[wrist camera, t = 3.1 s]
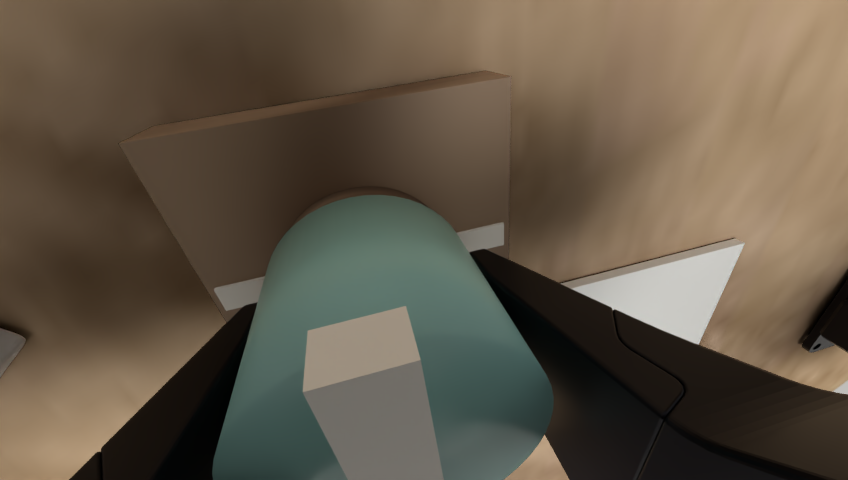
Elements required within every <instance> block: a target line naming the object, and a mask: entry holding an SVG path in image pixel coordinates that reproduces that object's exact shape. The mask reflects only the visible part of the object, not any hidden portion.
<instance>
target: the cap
mask: <svg viewBox="0 0 848 480" xmlns="http://www.w3.org/2000/svg"><path fill="white" fill-rule="evenodd" d="M553 403H554V397H553V391H552V386H551V384H550V382H549V379H548V377H547V375H546V373H545V372H544V370H543V369H542V367H541V365H540V364H539V362H538V361H537V359H536V358H535V356H534V354H533V353H532V351H531V350H530V348H529V347H528V345H527V343H526V342H525V340H524V339H523V337H522V335H521V334H520V332H519V331H518V329H517V328H516V326H515V324H514V323H513V321H512V320H511V318H510V316H509V315H508V313H507V312H506V310H505V309H504V307H503V305H502V304H501V302H500V301H499V299H498V298H497V296H496V294H495V293H494V291H493V290H492V288H491V286H490V285H489V283H488V282H487V280H486V279H485V277H484V275H483V274H482V272H481V271H480V269H479V267H478V266H477V264H476V263H475V261H474V260H473V258H472V256H471V255H470V253H469V252H468V250H467V249H466V247H465V245H464V244H463V242H462V241H461V239H460V237H459V236H458V234H457V233H456V232H455V230H454V229H453V228H452V226H451V225H450V224H449V223H448V222H447V221H446V220H445V219H444V218H443V217H442V216H440V215H439V214H437V213H436V212H435V211H433V210H432V209H430V208H428V207H426V206H424V205H422V204H420V203H417V202H414V201H412V200H409V199H405V198H400V197H396V196H387V195H363V196H356V197H349V198H346V199H342V200H338V201H335V202H332V203H330V204H327V205H325V206H322V207H320V208H318V209H317V210H315V211H313V212H311V213H309V214H308V215H306V216H305V217H304V218H302V219H301V220H300V221H298V222H297V223H296V224H295V225H294V226H293V227H292V228H291V229H290V230H288V231H287V232H286V234H285V235H284V236H283V237H282V239H281V240H280V241H279V243H278V244H277V246H276V248H275V250H274V252H273V254H272V255H271V258H270V261H269V264H268V267H267V271H266V274H265V278H264V281H263V285H262V289H261V292H260V296H259V299H258V303H257V306H256V310H255V313H254V317H253V321H252V324H251V328H250V331H249V335H248V338H247V342H246V345H245V349H244V353H243V356H242V360H241V363H240V367H239V370H238V374H237V377H236V381H235V385H234V388H233V392H232V395H231V399H230V402H229V406H228V409H227V413H226V417H225V420H224V424H223V427H222V431H221V434H220V438H219V441H218V445H217V449H216V452H215V456H214V460H213V470H212V476H213V480H503V479H505V478H506V477H507V476H509V475H510V474H511V473H512V472H513V471H514V470H516V469H517V468H518V467H519V466H520V465H521V464H522V463H523V462H524V461H525V460H526V459H527V458H528V457H529V456H530V454H531V453H532V452H533V451H534V449H535V448H536V447H537V445H538V444H539V443H540V441H541V439H542V438H543V436H544V434H545V433H546V430H547V428H548V426H549V423H550V421H551V417H552V412H553Z"/></svg>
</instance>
